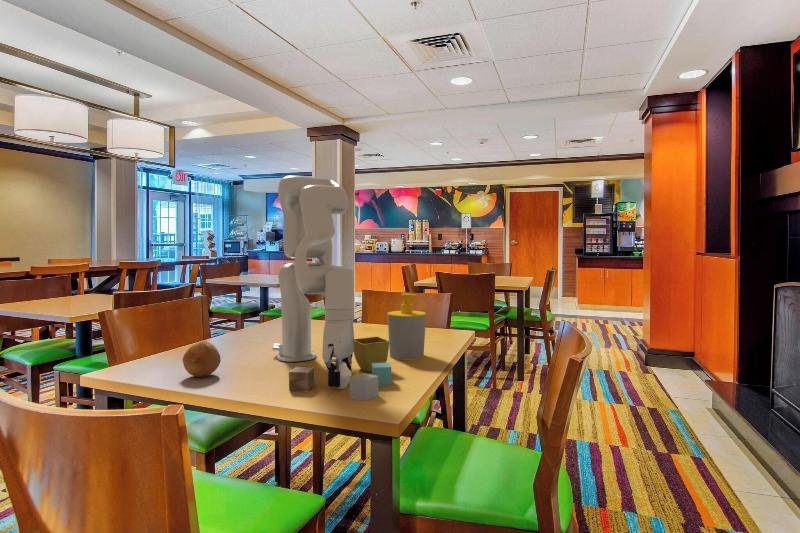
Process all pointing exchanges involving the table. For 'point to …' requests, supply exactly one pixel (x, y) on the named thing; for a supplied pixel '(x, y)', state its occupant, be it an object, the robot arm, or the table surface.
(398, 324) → the soap bottle
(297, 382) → the walnut cube
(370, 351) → the flower pot
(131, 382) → the table surface
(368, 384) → the grey cube
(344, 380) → the muffin
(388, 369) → the teal cube
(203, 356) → the onion
